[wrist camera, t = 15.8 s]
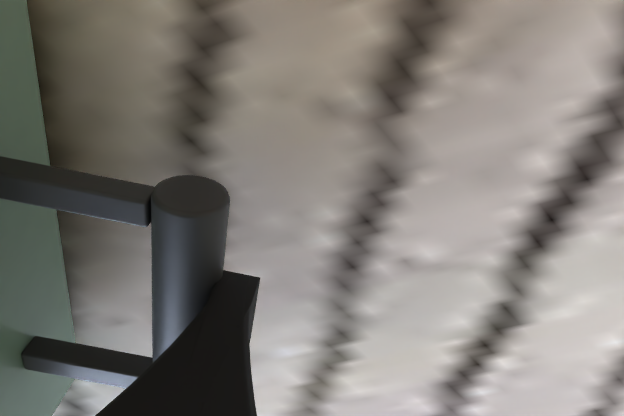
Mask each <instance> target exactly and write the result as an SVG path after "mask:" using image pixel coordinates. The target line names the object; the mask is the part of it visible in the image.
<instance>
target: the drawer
mask: <svg viewBox="0 0 624 416" xmlns="http://www.w3.org/2000/svg"><path fill="white" fill-rule="evenodd" d="M229 206H230V196H229V194H228V191H227V190H226V188H225V187H224V186H223V185H221V184H220V183H218V182H217V181H215V180H212V179H209V178H206V177H202V176H195V175H182V176H175V177H171V178H168V179H165V180H163V181H161V182H160V183H158V184H157V185H156V186H155V187H153V186H148V185H143V184H138V183H133V182H128V181H123V180H118V179H113V178H108V177H103V176H98V175H93V174H88V173H83V172H78V171H73V170H68V169H63V168H58V167H53V166H50V161H49V154H48V147H47V140H46V133H45V126H44V119H43V112H42V105H41V98H40V91H39V84H38V77H37V70H36V63H35V56H34V49H33V42H32V35H31V29H30V22H29V15H28V8H27V1H26V0H0V416H52V415H53V413H54V412H55V410H56V408H57V407H58V405H59V404H60V402H61V400H62V399H63V397H64V396H65V394H66V392H67V391H68V389H69V388H70V386H71V384H72V383H73V381H74V379H79V380H85V381H90V382H95V383H101V384H106V385H111V386H117V387H122V388H127V387H128V386H129V385H131V384H132V383H133V382H134V381H135V380H136V379H137V378H138V377H139V376H140V375H141V374H142V373H143V372H144V371H145V370H146V369H147V368H148V367H149V366H150V365H151V364H152V363H153V362H154V361H155V360H156V359H157V358H158V357H159V356H160V355H161V354H162V353H163V352H164V351H165V350H166V349H167V348H168V347H169V346H170V345H171V344H172V343H173V342H174V341H175V340H176V339H177V338H178V337H179V335H180V334H181V333H182V332H183V331H184V330H185V329H186V328H187V326H188V325H189V324H190V323H191V322H192V321H193V320H194V319H195V317H196V316H197V315H198V314H199V313H200V312H201V310H202V309H203V308H204V307H205V305H206V304H207V302H208V299H209V296H210V293H211V291H212V289H213V287H214V285H215V283H217V282H218V281H219V280H220V279H221V278H222V276H223V266H224V256H225V246H226V236H227V226H228V216H229ZM57 210H60V211H65V212H71V213H76V214H81V215H86V216H91V217H96V218H101V219H106V220H111V221H116V222H121V223H126V224H131V225H136V226H141V227H147V226H149V224H150V223H151V246H152V347H153V358H151V357H145V356H140V355H135V354H130V353H124V352H119V351H114V350H109V349H103V348H98V347H93V346H88V345H82V344H77V343H76V342H75V335H74V328H73V321H72V314H71V307H70V300H69V293H68V286H67V279H66V272H65V265H64V258H63V251H62V245H61V238H60V231H59V224H58V217H57Z"/></svg>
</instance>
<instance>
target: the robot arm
mask: <svg viewBox="0 0 624 416" xmlns="http://www.w3.org/2000/svg"><path fill="white" fill-rule="evenodd" d="M259 282H260V278H259V277H254V276H249V275H244V274H239V273H234V272H229V271H224V270H223V276H222V278H221V279H220V280H219V281H218V282H217V283H215V285H214V287H213V289H212V291H211V293H210V296H209V299H208V302H207V304H206V305H205V307H204V308H203V309H202V310H201V312H200V313H199V314H198V315H197V316H196V317H195V319H194V320H193V321H192V322H191V323H190V324H189V325H188V326H187V328H186V329H185V330H184V331H183V332H182V333H181V334H180V335H179V337H178V338H177V339H176V340H175V341H174V342H173V343H172V344H171V345H170V346H169V347H168V348H167V349H166V350H165V351H164V352H163V353H162V354H161V355H160V356H159V357H158V358H157V359H156V360H155V361H154V362H153V363H152V364H151V365H150V366H149V367H148V368H147V369H146V370H145V371H144V372H143V373H142V374H141V375H140V376H139V377H138V378H137V379H136V380H135V381H134V382H133V383H132V384H131V385H129V386H128V387H127V388H126V389H125V390H124V391H123V392H122V393H121V394H120V395H118V396H117V397H116V398H115V399H114V400H113V401H112V402H110V403H109V404H108V405H107V406H106V407H105V408H103V409H102V410H101V411H100V412H99V413H98V414H96V415H95V416H257V414H256V407H255V400H254V392H253V384H252V375H251V365H250V348H249V343H250V338H251V332H252V325H253V319H254V313H255V307H256V301H257V294H258V288H259Z"/></svg>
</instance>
